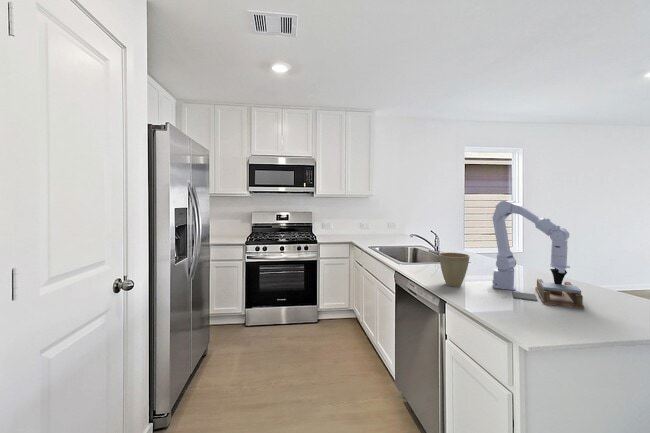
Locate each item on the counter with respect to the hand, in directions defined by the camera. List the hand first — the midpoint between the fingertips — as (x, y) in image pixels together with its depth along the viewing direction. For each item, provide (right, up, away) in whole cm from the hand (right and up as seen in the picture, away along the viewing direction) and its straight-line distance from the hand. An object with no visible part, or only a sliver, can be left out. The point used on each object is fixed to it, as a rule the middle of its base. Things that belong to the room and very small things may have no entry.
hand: (557, 285), depth 141 cm
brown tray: (0, -6, +1) cm, 6 cm away
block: (+3, -6, +5) cm, 8 cm away
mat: (-13, -6, +3) cm, 15 cm away
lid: (-2, -1, -4) cm, 5 cm away
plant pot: (-38, -5, +23) cm, 45 cm away
